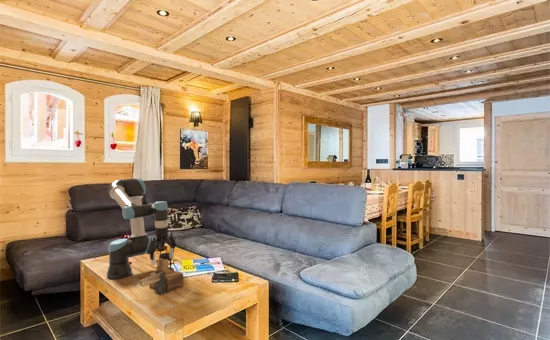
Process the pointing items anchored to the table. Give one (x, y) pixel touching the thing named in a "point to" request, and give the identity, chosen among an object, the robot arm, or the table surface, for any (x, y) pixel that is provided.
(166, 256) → the music box
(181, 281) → the toolbox
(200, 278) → the table surface
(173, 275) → the lid
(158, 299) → the table surface
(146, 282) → the wooden stick
